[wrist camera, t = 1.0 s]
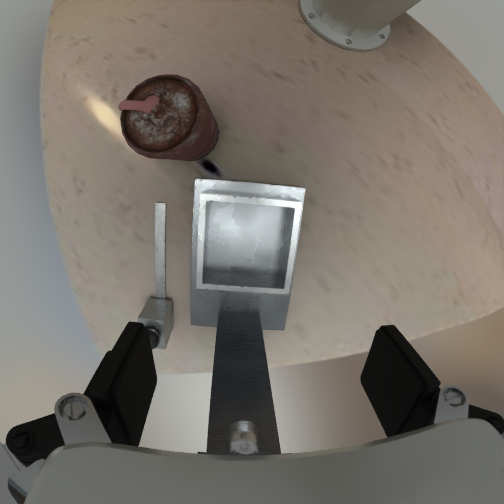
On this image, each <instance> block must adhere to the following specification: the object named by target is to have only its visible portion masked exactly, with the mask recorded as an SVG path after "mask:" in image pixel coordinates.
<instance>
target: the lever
mask: <svg viewBox="0 0 504 504" xmlns="http://www.w3.org/2000/svg"><path fill="white" fill-rule="evenodd" d="M138 322H139V323H143V324H144V327H148V329H149V335H150V342H151V348H152V349H154V348H160V349H166V346H167V343H168V340H169V337H170V334H171V331H172V329H173V314H172V300H164V299H154V298H149V300H148V301H147V303H146V305H145V306H144V308H143V310H142V312H141V313H140V315H139V317H138Z"/></svg>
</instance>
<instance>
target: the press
mask: <svg viewBox="0 0 504 504" xmlns="http://www.w3.org/2000/svg"><path fill="white" fill-rule="evenodd" d="M304 194H305V188H301V187H292V186H284V185H274V184H264V183H254V182H242V181H230V180H215V179H199V178H197V179H195V190H194V207H193V227H192V255H191V325H198V326H210V327H217V334H216V344H215V354H214V365H213V376H212V388H211V399H210V412H209V425H208V438H207V453H206V452H198V454H209V455H240V456H246V455H278V454H281V450H280V444H279V437H278V430H277V424H276V417H275V412H274V405H273V398H272V392H271V386H270V379H269V372H268V366H267V359H266V353H265V346H264V340H263V333H262V330H284V328H285V323H286V317H287V311H288V305H289V299H290V293H291V287H292V281H293V274H294V268H295V261H296V254H297V247H298V240H299V233H300V226H301V218H302V211H303V203H304ZM165 233H166V203H156V204H155V273H156V297H157V299H164V300H166V270H165ZM287 454H292V453H287Z"/></svg>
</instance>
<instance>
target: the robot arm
mask: <svg viewBox="0 0 504 504" xmlns="http://www.w3.org/2000/svg"><path fill="white" fill-rule="evenodd" d="M420 1H421V0H299V9H300V13H301V15H302V17H303V19H304V20H305V22H306V23H307V25H308V26H309V27H310V28H311V29H312V30H313V31H314V32H315V33H316V34H318V35H319V36H320V37H321V38H323V39H324V40H326V41H328V42H329V43H331V44H333V45H336V46H338V47H340V48H344V49H347V50H352V51H370V50H373V49H376V48H378V47H379V46H381V45H382V44H384V43H385V42H386V41H387V39H388V37H389V35H390V30H391V26H390V23H391V22H392V21H394V20H395V19H396V18H398V17H399V16H400V15H402V14H403V13H404V12H406V11H407V10H408V9H410V8H411V7H413V6H414V5H415V4H417V3H418V2H420ZM440 383H441V382H440V381H439V380H438V378H437V377H436V376H435V375H434V373H433V372H432V371H431V369H430V368H429V367H428V366H427V364H426V363H425V362H424V361H423V359H422V358H421V357H420V356H419V354H418V353H417V352H416V351H415V349H414V348H413V347H412V346H411V345H410V343H409V342H408V341H407V340H406V339H405V337H404V336H403V335H402V334H401V333H400V331H399V330H398V329H397V328H396V327H395V326H394V325H385V326H381V327H380V328H379V329H378V330H377V331H376V333H375V336H374V339H373V342H372V346H371V349H370V352H369V355H368V357H367V360H366V363H365V366H364V369H363V371H362V374H361V384H362V386H363V388H364V390H365V392H366V394H367V396H368V398H369V400H370V402H371V404H372V406H373V408H374V410H375V412H376V414H377V417H378V419H379V420H380V423H381V425H382V427H383V429H384V431H385V433H386V435H387V437H388V438H384V439H380V440H375V441H371V442H367V443H362V444H357V445H352V446H346V447H340V448H334V449H328V450H320V451H312V452H303V453H292V454H278V455H246V456H240V455H209V454H194V453H184V452H174V451H165V450H157V449H151V448H144V447H138V446H139V442H140V439H141V436H142V432H143V428H144V425H145V421H146V418H147V414H148V411H149V407H150V404H151V401H152V397H153V393H154V390H155V387H156V384H157V375H156V370H155V365H154V359H153V354H152V348H151V342H150V335H149V329H148V327H144V324H143V323H139V322H128V324H127V325H126V327H125V329H124V330H123V332H122V334H121V335H120V337H119V339H118V341H117V342H116V344H115V346H114V347H113V349H112V351H108V352H107V353H106V354H105V356H104V358H103V360H102V361H101V363H100V365H99V367H98V368H97V370H96V372H95V374H94V375H93V377H92V380H91V381H90V383H89V385H88V387H87V388H86V390H85V392H84V394H80V393H69V394H66V395H64V396H62V397H61V398H60V399H58V401H57V402H56V404H55V408H54V409H55V413H54V414H51V415H48V416H45V417H42V418H39V419H36V420H33V421H30V422H27V423H24V424H20V425H17V426H15V427H13V428H12V429H11V430H10V431H9V432H8V434H7V437H6V443H5V444H4V445H3V444H2V443H1V442H0V504H504V419H503V418H502V417H501V416H500V415H499V414H497V413H495V412H491V411H488V410H485V409H481V408H479V407H476V406H472V405H469V398H468V396H467V394H466V392H465V391H463V390H462V389H461V388H459V387H457V386H452V385H450V386H445V387H443V388H442V389H440V388H439V385H440Z"/></svg>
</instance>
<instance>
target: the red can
mask: <svg viewBox="0 0 504 504" xmlns="http://www.w3.org/2000/svg"><path fill="white" fill-rule="evenodd" d="M119 110H121V111H122V112H121V118H120V120H121V127H122V134H123V136H124V138H125V140H126V141H127V143H128V145H129V146H130V147H131V148H132V149H133V150H134V151H136V152H137V153H138V154H141V155H143V156H145V157H148V158H156V159H172V160H186V161H193V160H198V159H201V158H203V157H204V156H206V155H208V154H209V153H210V152H211V151H212V150H213V149H214V147H215V145H216V143H217V141H218V134H219V131H218V125H217V122H216V120H215V118H214V116H213V114H212V112H211V110H210V108H209V106H208V104H207V102H206V100H205V98H204V96H203V94H202V92H201V91H200V89H199V87H198V86H196V85H195V84H194V83H193V82H192V81H190V80H189V79H187V78H184V77H181V76H179V75H159V76H156V77H152V78H149V79H147V80H145V81H143V82H142V83H140V84H139V85H137V86H136V87H135V88H134V89H133V90H132V91H131V93H130V94H129V95H128V96H127V98H126V100H124V101H122V102H120V104H119Z"/></svg>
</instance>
